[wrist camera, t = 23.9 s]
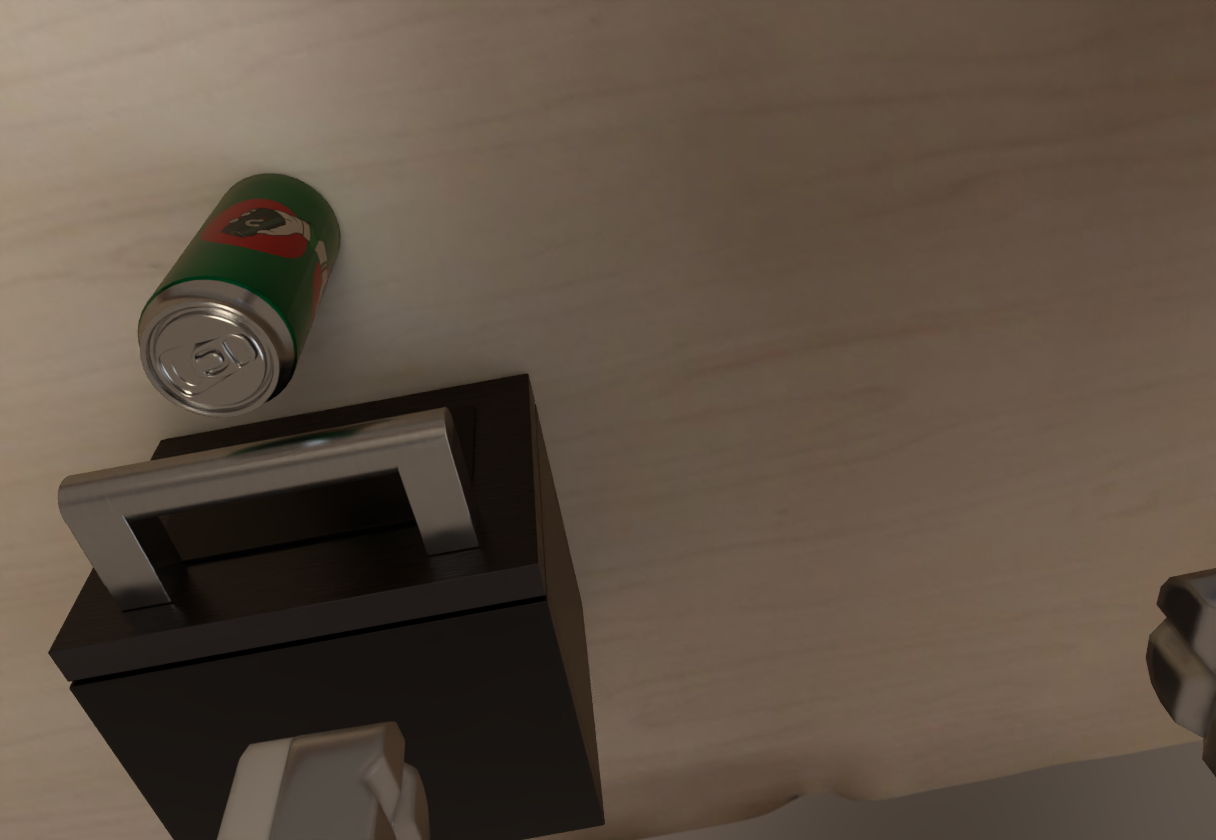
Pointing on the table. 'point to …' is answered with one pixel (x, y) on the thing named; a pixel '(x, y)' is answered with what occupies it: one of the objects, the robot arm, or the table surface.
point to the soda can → (241, 298)
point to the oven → (387, 709)
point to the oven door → (306, 528)
